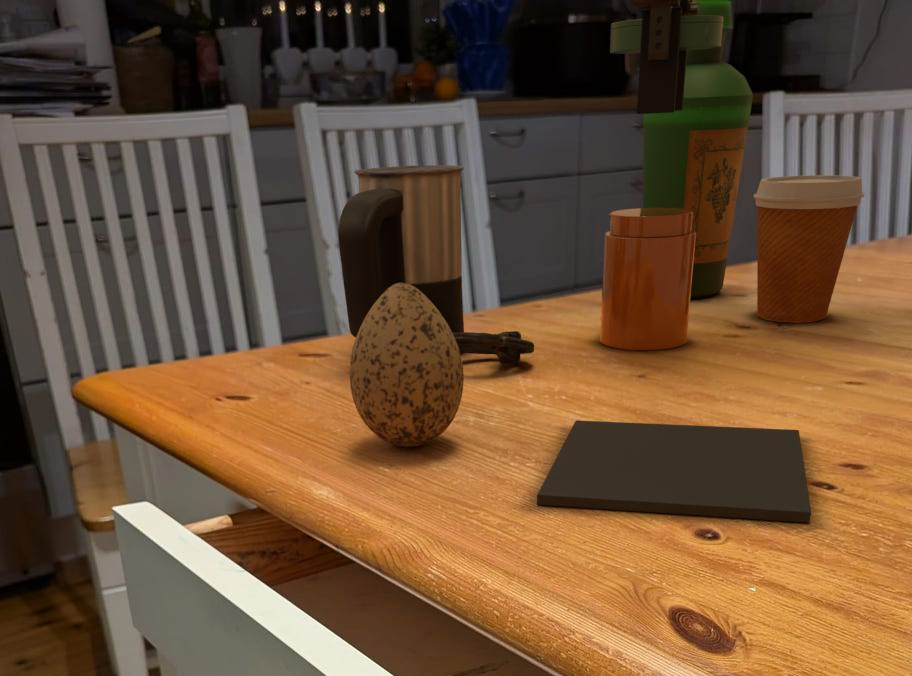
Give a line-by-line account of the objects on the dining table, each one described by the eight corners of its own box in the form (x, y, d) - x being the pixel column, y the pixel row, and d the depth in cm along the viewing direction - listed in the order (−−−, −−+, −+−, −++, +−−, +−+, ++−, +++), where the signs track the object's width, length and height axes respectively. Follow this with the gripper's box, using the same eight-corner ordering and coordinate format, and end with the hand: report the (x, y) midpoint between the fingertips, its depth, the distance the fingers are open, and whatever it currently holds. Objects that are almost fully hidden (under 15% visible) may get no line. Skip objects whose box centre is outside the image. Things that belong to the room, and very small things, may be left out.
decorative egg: (456, 463, 58) (451, 292, 54) (343, 461, 60) (328, 294, 55) (472, 428, 65) (469, 272, 60) (369, 427, 66) (358, 274, 61)
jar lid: (587, 53, 73) (588, 24, 72) (648, 53, 78) (649, 26, 77) (682, 45, 68) (685, 14, 67) (741, 46, 73) (744, 16, 72)
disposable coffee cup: (864, 322, 89) (889, 179, 83) (767, 329, 88) (786, 185, 82) (812, 304, 97) (831, 173, 91) (723, 310, 96) (737, 178, 90)
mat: (797, 439, 60) (799, 429, 60) (809, 523, 48) (811, 512, 48) (575, 428, 64) (575, 420, 63) (536, 505, 52) (536, 494, 52)
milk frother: (380, 338, 91) (369, 164, 84) (546, 339, 88) (549, 158, 80) (337, 376, 79) (319, 177, 71) (528, 379, 76) (530, 170, 68)
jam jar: (688, 332, 88) (699, 206, 83) (684, 351, 82) (696, 216, 76) (605, 331, 90) (611, 207, 85) (594, 349, 84) (600, 217, 78)
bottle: (728, 303, 99) (763, -24, 86) (625, 301, 102) (642, -14, 89) (734, 285, 108) (767, -14, 94) (639, 284, 111) (657, -5, 97)
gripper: (644, -225, 74) (627, 111, 85) (609, -322, 56) (593, 117, 67) (746, -238, 72) (715, 107, 83) (742, -343, 54) (703, 112, 65)
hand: (660, 111), depth 75 cm, fingers closed on jar lid, 8 cm apart
